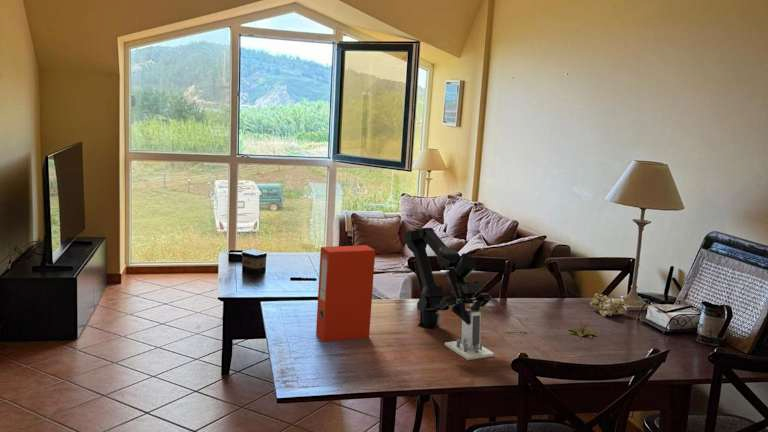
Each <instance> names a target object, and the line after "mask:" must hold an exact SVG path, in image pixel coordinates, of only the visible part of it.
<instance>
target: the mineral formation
mask: <svg viewBox="0 0 768 432" xmlns="http://www.w3.org/2000/svg"><path fill="white" fill-rule="evenodd" d="M593 296H594V298H592V301H591V302H589V305H590V307H592V308H593V307H594V308H595V309H597V311H598V313H599V314H600V316H602V317H603V318H606V317H607V316H608V317H611V316H612V315H616V316H617V315H620V314H623V312H626V313H627V312H628V309H627V308H625V307H624V306H625V305H626V301H625V300H621V299H620V298H615V299H614V301H613V300H612V299H611V298H609V297H608V296H607V295H604V294H599V293H594V295H593Z"/></svg>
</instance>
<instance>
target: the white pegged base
mask: <svg viewBox="0 0 768 432" xmlns="http://www.w3.org/2000/svg"><path fill="white" fill-rule="evenodd" d="M461 343H462V335H461V336H460V338H456V340H455V341H447V342H444V346H446V348H449V350H451V351H453V352H454V353H456V354H457V355H458V356H461V357H462V358H463V359H465V360H467V361H468V360H469V361H470V360H475V359H482V358H490V357H491V358H492V357H494V356H495V352H493V351H491V350H489V349H488V348H486V346H485V347H484V346H483V341H480V348H479V345H475V348H474V349H470V348H468V344H466V343H465V344H464V346H463V345H461Z"/></svg>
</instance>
